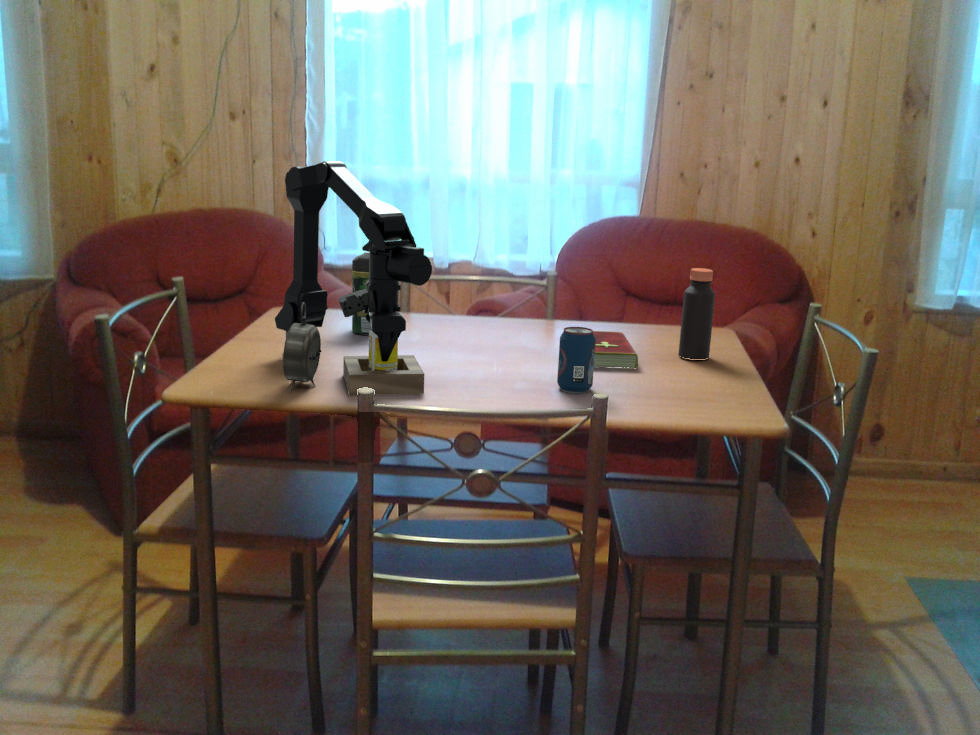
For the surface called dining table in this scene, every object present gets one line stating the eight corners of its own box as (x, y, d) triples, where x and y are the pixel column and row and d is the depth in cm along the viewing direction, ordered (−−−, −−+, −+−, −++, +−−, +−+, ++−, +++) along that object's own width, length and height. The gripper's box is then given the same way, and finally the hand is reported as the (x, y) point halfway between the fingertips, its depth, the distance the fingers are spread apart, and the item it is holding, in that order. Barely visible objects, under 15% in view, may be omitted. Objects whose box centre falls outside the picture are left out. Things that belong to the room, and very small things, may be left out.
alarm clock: (298, 377, 199) (297, 296, 194) (325, 379, 198) (325, 297, 194) (281, 392, 188) (280, 307, 184) (309, 394, 188) (309, 308, 183)
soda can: (554, 384, 202) (558, 325, 199) (589, 384, 202) (593, 326, 199) (559, 394, 195) (563, 333, 192) (594, 394, 195) (599, 334, 192)
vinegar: (672, 355, 229) (680, 267, 224) (695, 353, 232) (704, 266, 227) (690, 362, 223) (699, 272, 218) (715, 360, 226) (724, 271, 221)
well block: (343, 375, 201) (343, 356, 200) (413, 374, 204) (413, 355, 203) (349, 395, 188) (349, 374, 187) (423, 393, 191) (424, 373, 190)
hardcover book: (622, 348, 236) (624, 330, 235) (637, 371, 216) (638, 352, 215) (571, 346, 236) (572, 328, 234) (581, 369, 215) (582, 350, 214)
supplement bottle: (403, 373, 196) (404, 321, 193) (381, 378, 192) (382, 325, 189) (384, 367, 199) (385, 316, 197) (362, 371, 195) (363, 320, 193)
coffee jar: (356, 326, 245) (356, 249, 240) (388, 327, 244) (389, 251, 240) (348, 335, 235) (348, 255, 231) (382, 336, 235) (383, 257, 230)
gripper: (337, 268, 198) (337, 346, 202) (345, 286, 180) (344, 370, 184) (394, 269, 200) (392, 345, 204) (407, 286, 183) (405, 370, 187)
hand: (382, 357), depth 195 cm, fingers closed on supplement bottle, 5 cm apart
